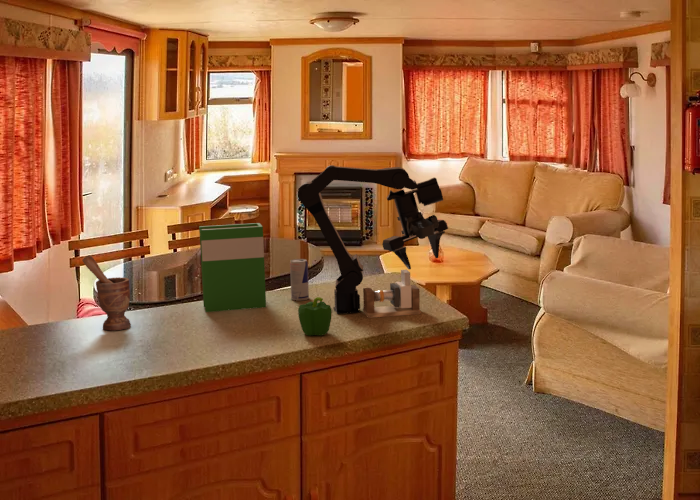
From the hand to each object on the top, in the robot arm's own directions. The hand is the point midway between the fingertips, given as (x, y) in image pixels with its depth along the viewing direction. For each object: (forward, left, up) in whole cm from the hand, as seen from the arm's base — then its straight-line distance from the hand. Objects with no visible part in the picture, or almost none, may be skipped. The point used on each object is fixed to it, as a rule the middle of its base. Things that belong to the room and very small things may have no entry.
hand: (423, 263), depth 218 cm
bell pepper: (-34, -16, -14) cm, 40 cm away
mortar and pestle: (-87, +4, -14) cm, 88 cm away
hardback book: (-53, +18, -14) cm, 57 cm away
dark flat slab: (-9, -1, -11) cm, 14 cm away
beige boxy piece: (-6, -1, -11) cm, 13 cm away
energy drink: (-33, +22, -14) cm, 42 cm away
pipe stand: (-10, -1, -13) cm, 17 cm away
